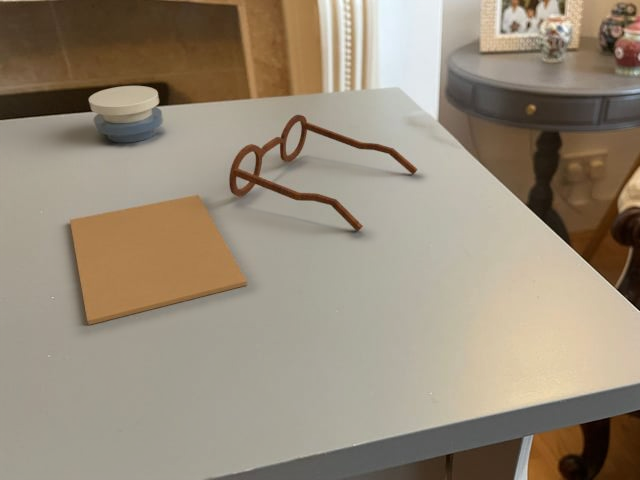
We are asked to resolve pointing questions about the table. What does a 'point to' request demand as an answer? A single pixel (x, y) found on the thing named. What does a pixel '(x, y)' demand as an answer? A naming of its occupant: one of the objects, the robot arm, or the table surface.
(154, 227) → the mat
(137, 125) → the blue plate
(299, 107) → the table surface
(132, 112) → the top plate
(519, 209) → the table surface
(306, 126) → the glasses
